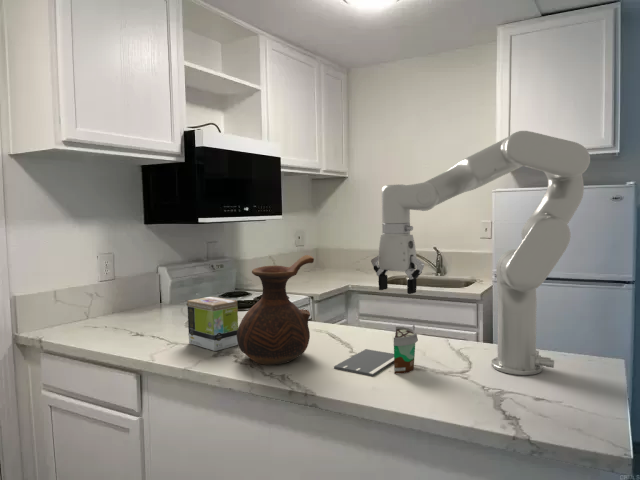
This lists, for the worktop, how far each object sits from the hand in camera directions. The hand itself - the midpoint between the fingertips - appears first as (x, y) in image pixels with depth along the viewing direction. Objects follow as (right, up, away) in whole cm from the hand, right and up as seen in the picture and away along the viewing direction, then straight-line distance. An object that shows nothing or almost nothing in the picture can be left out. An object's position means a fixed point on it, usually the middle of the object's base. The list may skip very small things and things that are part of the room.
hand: (397, 291), depth 134 cm
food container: (+2, -21, -3) cm, 21 cm away
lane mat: (-8, -20, +2) cm, 22 cm away
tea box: (-56, -20, +25) cm, 65 cm away
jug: (-35, -21, +9) cm, 41 cm away
